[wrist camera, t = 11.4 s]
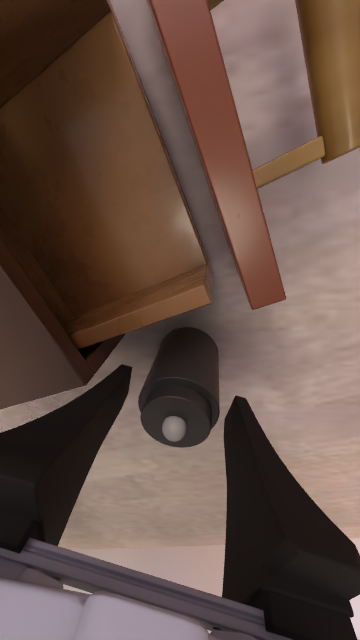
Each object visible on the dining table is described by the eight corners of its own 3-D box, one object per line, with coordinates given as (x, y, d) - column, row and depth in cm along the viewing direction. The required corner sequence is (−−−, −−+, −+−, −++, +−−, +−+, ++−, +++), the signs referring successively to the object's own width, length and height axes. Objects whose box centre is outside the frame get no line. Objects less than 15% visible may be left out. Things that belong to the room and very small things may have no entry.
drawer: (271, -175, 7) (400, -1077, 2) (337, 238, 11) (426, 255, 6) (-49, 126, 12) (-231, 65, 7) (86, 331, 16) (31, 381, 11)
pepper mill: (155, 368, 18) (122, 453, 11) (166, 320, 16) (132, 392, 9) (209, 382, 18) (205, 477, 11) (226, 336, 16) (233, 420, 9)
